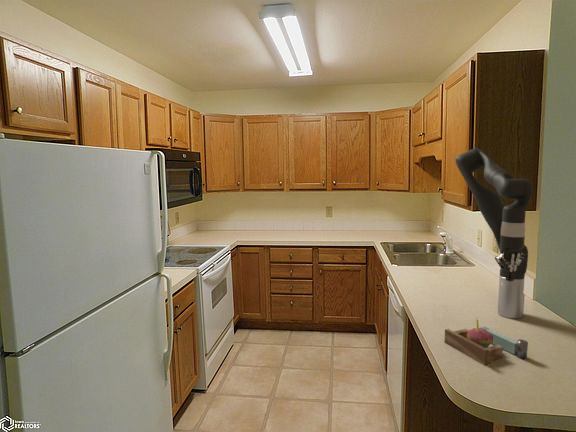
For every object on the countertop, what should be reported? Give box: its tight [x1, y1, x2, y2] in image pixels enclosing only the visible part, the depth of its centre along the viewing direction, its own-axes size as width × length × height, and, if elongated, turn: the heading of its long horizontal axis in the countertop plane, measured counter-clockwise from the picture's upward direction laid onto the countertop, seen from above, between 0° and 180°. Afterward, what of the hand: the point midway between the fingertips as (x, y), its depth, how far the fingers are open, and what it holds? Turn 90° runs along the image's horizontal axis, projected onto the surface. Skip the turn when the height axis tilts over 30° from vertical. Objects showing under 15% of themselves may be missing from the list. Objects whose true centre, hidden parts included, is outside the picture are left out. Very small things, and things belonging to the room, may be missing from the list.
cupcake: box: [467, 318, 493, 348], centre depth 133 cm, size 9×8×12 cm
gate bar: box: [480, 326, 518, 355], centre depth 135 cm, size 14×2×4 cm, turn 22°
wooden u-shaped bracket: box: [444, 328, 504, 366], centre depth 132 cm, size 9×17×5 cm, turn 22°
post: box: [516, 339, 529, 360], centre depth 127 cm, size 3×3×6 cm
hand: (509, 280), depth 137 cm, fingers closed
